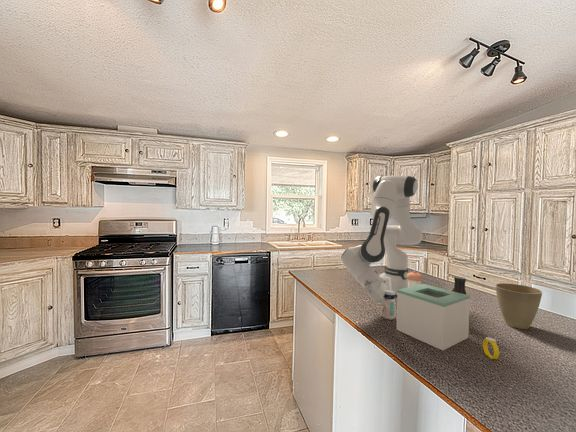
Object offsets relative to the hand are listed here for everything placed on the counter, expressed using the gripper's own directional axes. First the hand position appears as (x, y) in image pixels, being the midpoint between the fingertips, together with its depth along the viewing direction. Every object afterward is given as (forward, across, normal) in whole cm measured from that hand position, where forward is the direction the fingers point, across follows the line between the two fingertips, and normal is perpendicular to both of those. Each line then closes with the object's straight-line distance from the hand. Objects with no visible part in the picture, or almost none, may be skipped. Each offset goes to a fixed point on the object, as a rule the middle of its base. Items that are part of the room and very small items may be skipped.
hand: (390, 303), depth 115 cm
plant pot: (+39, +19, -29) cm, 52 cm away
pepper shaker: (+11, +14, -2) cm, 18 cm away
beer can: (+4, 0, +5) cm, 7 cm away
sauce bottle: (+23, +7, -14) cm, 28 cm away
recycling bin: (+16, -8, -7) cm, 19 cm away
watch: (+28, -16, -18) cm, 37 cm away
